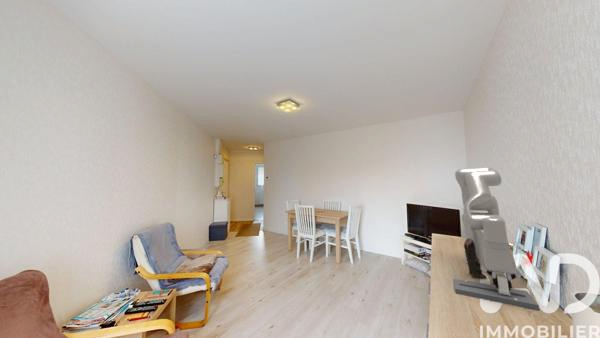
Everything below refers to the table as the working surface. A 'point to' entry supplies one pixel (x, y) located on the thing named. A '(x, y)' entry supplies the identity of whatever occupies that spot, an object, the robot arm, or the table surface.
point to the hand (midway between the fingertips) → (502, 287)
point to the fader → (502, 284)
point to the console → (495, 294)
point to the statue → (473, 260)
